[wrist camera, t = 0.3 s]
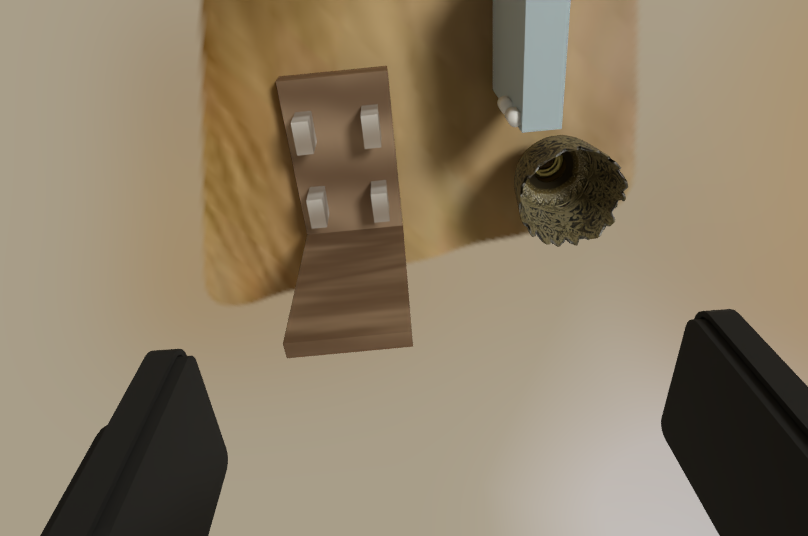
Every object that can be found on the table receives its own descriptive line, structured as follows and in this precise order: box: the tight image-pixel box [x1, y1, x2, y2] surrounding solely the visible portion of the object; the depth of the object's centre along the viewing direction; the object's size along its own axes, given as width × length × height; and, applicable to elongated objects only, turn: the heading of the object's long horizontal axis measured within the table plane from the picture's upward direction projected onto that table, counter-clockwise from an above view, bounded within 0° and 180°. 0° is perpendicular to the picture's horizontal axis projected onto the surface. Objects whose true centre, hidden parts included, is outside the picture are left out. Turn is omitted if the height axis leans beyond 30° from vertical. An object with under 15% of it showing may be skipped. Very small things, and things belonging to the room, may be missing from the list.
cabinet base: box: [276, 66, 413, 358], centre depth 38 cm, size 14×8×16 cm, turn 5°
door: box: [493, 0, 571, 133], centre depth 35 cm, size 10×3×10 cm, turn 5°
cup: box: [514, 135, 628, 247], centre depth 41 cm, size 8×7×8 cm
